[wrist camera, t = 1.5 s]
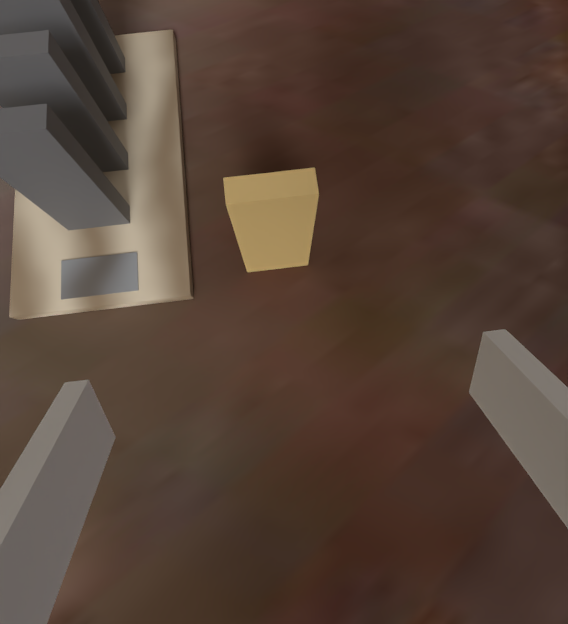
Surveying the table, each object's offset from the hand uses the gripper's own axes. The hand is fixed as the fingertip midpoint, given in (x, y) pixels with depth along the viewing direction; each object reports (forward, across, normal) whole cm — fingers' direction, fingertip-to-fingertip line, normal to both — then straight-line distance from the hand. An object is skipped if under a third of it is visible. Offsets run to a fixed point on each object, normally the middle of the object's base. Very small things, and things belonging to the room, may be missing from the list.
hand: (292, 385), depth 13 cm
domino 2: (+25, -14, +4) cm, 29 cm away
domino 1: (+29, -14, +8) cm, 33 cm away
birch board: (+26, -14, +4) cm, 30 cm away
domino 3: (+22, -14, +1) cm, 26 cm away
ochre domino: (+19, 0, -4) cm, 19 cm away
